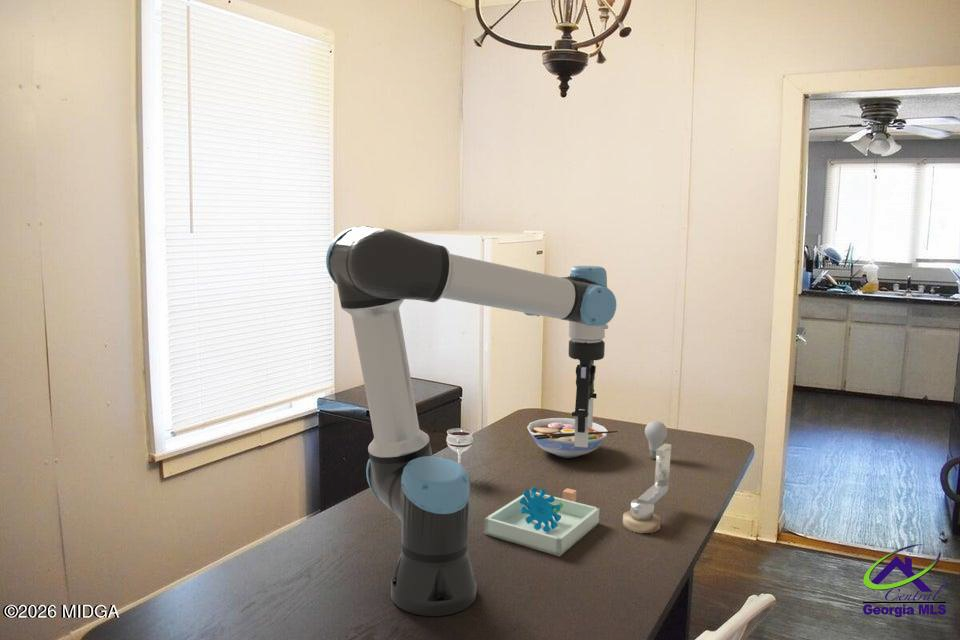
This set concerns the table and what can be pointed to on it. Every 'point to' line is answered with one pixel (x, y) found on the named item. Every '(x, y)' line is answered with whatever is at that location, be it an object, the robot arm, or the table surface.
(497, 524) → the tray
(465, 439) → the wineglass
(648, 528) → the crank pedestal
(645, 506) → the crank
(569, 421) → the ramen bowl
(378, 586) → the table surface
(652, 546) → the table surface
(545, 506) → the gear
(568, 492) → the post
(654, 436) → the lightbulb
